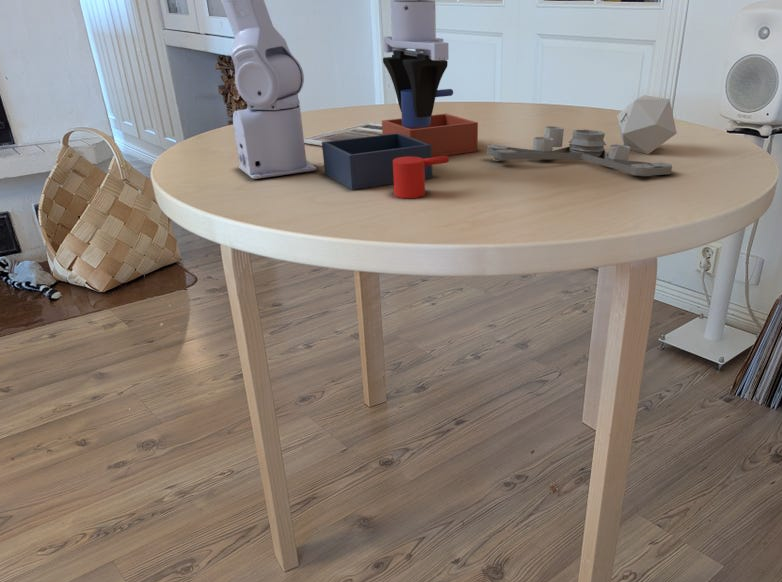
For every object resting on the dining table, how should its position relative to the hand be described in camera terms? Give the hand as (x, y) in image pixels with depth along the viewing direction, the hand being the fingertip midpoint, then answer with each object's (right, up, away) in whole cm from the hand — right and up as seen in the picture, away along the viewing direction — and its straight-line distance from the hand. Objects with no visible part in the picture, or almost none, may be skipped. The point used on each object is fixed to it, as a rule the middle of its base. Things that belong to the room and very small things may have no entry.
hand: (416, 114), depth 90 cm
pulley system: (+24, -4, +10) cm, 27 cm away
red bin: (+1, +1, +19) cm, 19 cm away
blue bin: (-6, -7, +4) cm, 10 cm away
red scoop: (+1, -12, -4) cm, 12 cm away
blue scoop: (+2, -1, +2) cm, 2 cm away
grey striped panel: (-12, +6, +28) cm, 31 cm away
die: (+36, 0, +17) cm, 40 cm away
